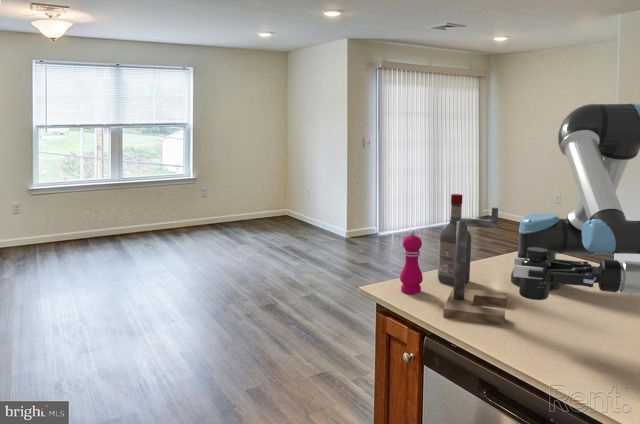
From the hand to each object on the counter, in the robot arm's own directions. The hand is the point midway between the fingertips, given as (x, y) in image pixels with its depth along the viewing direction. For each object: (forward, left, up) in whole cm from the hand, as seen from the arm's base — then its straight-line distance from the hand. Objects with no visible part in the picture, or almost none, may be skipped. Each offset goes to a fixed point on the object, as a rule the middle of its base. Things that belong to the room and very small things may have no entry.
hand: (514, 266), depth 126 cm
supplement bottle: (-5, +1, -7) cm, 9 cm away
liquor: (+8, -43, -18) cm, 48 cm away
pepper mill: (+23, -31, -18) cm, 43 cm away
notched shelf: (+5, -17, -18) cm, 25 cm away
